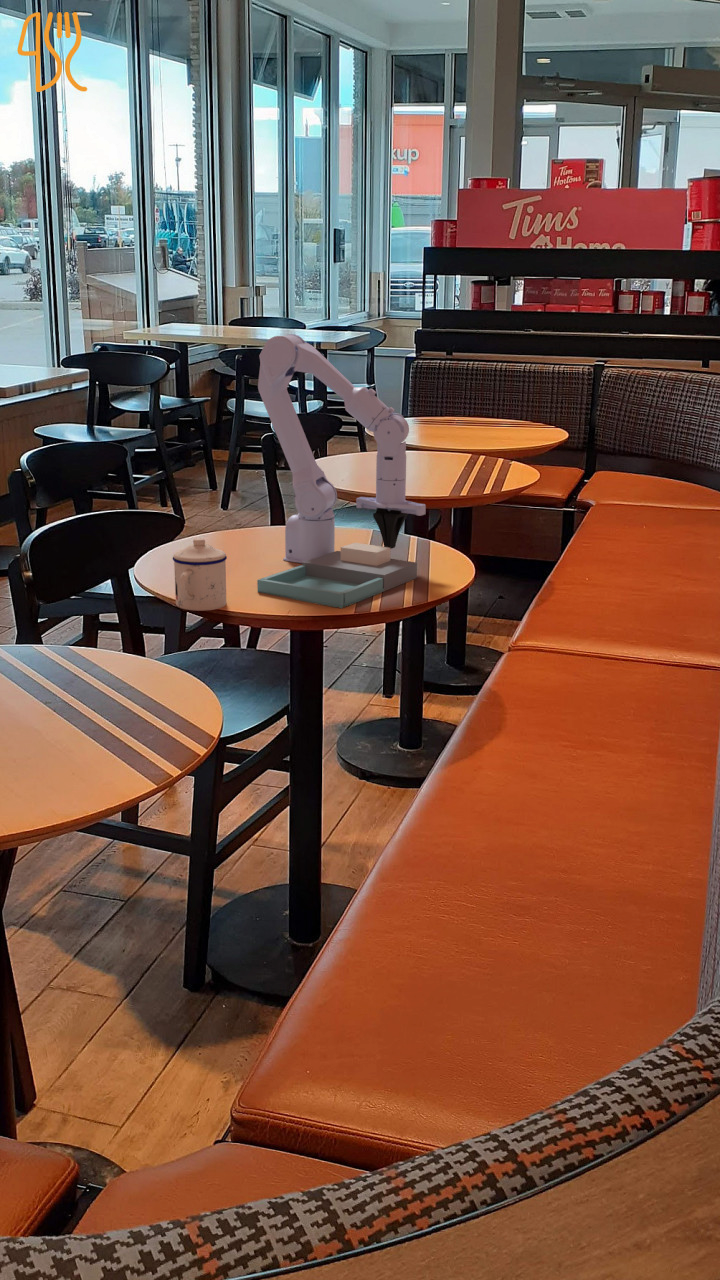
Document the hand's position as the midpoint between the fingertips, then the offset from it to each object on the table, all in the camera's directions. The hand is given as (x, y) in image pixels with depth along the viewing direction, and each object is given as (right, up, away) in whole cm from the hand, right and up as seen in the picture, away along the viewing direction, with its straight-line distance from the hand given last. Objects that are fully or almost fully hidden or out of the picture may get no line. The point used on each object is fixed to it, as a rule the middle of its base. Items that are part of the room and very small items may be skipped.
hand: (389, 547), depth 223 cm
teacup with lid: (-33, -13, -29) cm, 46 cm away
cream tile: (-5, -3, -7) cm, 9 cm away
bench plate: (-6, -6, -8) cm, 12 cm away
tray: (-13, -9, -18) cm, 24 cm away
